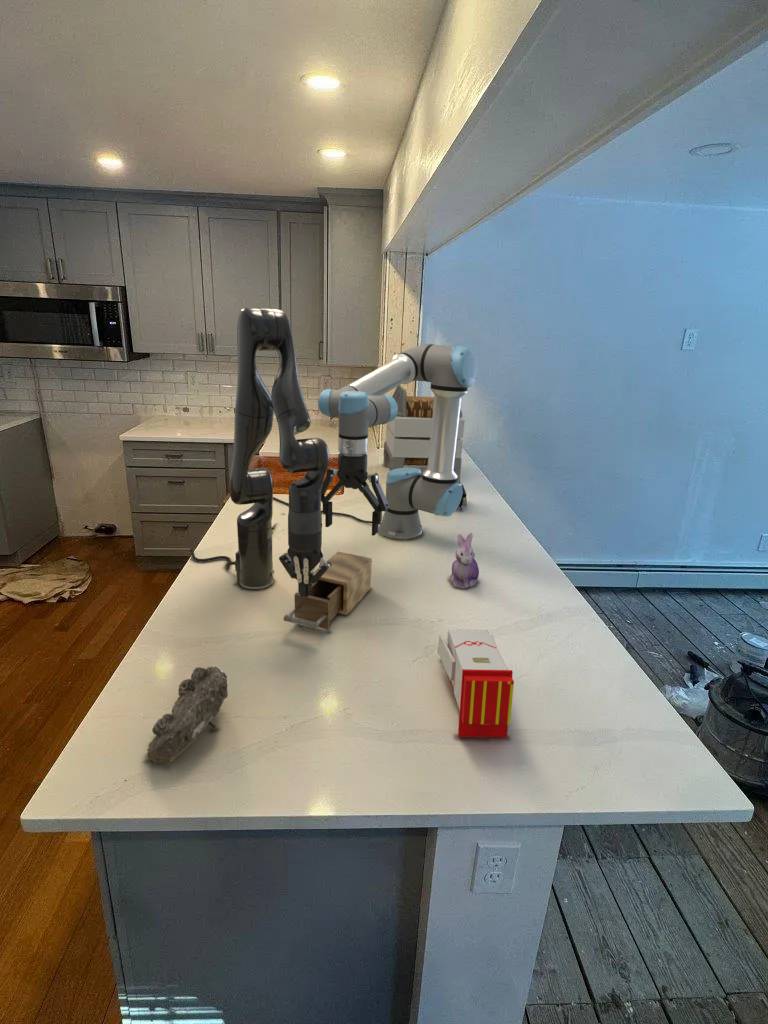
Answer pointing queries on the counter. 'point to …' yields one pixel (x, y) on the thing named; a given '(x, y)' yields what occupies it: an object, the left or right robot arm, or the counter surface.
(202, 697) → the fossil
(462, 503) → the figurine character
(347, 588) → the cabinet
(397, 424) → the grey slatted crate
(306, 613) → the drawer
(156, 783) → the counter surface
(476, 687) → the toy
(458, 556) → the figurine
